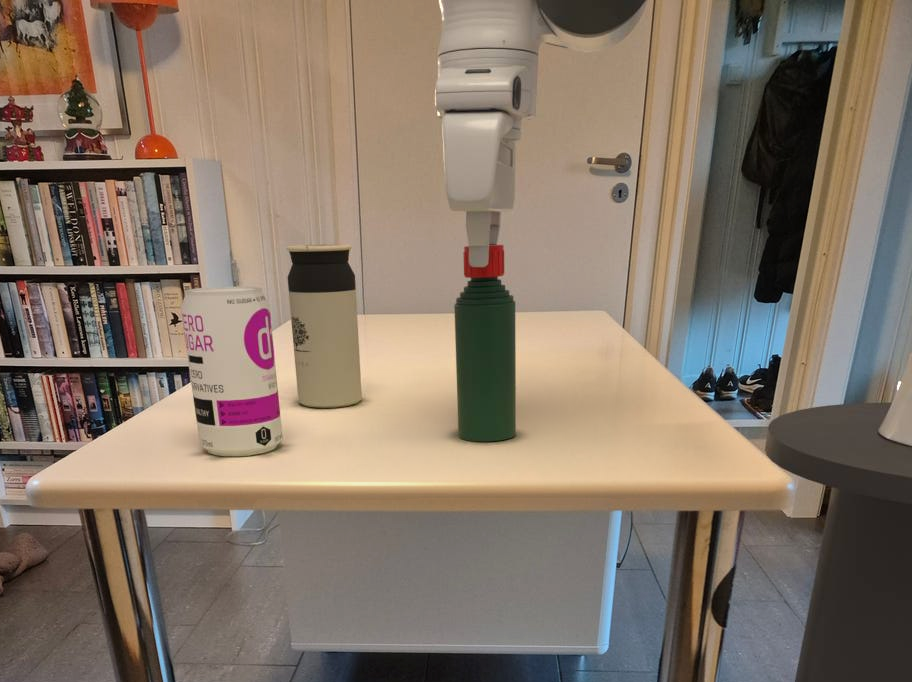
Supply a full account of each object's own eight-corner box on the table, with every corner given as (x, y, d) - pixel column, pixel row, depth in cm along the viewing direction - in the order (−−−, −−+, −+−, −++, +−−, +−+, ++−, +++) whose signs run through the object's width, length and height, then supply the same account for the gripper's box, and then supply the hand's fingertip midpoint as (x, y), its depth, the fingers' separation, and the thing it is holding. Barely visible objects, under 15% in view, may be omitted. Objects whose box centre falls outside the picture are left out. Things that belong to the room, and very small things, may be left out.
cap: (461, 278, 81) (460, 247, 80) (467, 275, 85) (466, 245, 84) (501, 276, 81) (501, 245, 80) (506, 274, 84) (506, 244, 83)
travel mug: (353, 394, 112) (344, 243, 104) (369, 405, 105) (360, 244, 97) (293, 399, 110) (279, 245, 102) (305, 411, 103) (291, 247, 95)
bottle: (518, 428, 92) (518, 249, 84) (512, 441, 86) (511, 252, 79) (463, 428, 93) (458, 252, 85) (454, 441, 87) (447, 255, 80)
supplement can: (296, 440, 89) (282, 285, 82) (258, 460, 82) (239, 292, 75) (227, 436, 91) (208, 286, 85) (185, 455, 84) (160, 292, 78)
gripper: (469, 110, 86) (467, 260, 92) (430, 82, 68) (431, 271, 74) (532, 108, 85) (525, 260, 91) (509, 79, 67) (503, 271, 73)
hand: (483, 265), depth 82 cm, fingers closed on cap, 4 cm apart
